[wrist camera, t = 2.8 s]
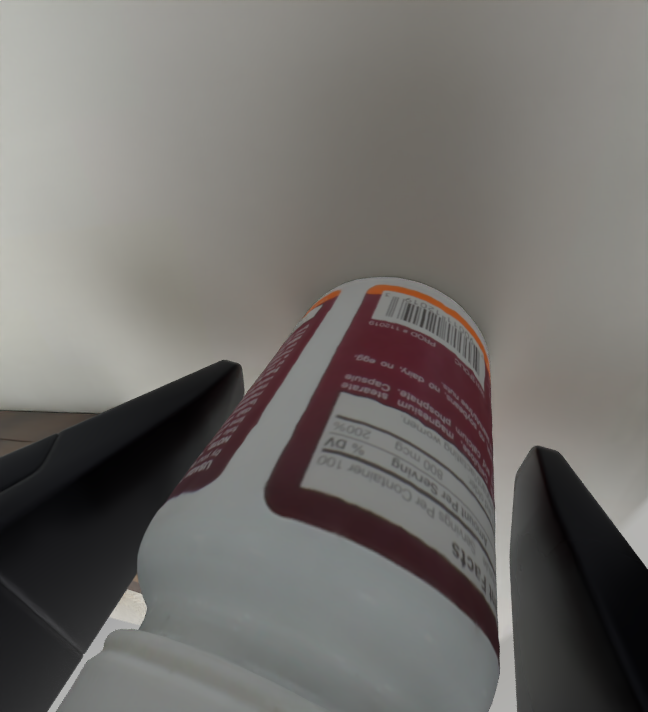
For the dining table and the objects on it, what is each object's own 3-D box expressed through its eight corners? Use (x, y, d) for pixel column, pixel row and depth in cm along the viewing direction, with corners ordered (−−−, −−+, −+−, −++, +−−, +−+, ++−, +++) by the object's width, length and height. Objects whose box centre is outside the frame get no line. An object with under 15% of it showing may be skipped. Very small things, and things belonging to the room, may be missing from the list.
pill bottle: (336, 430, 12) (158, 854, 5) (274, 293, 9) (-157, 736, 3) (505, 426, 9) (544, 1143, 3) (474, 246, 7) (398, 1447, 1)
